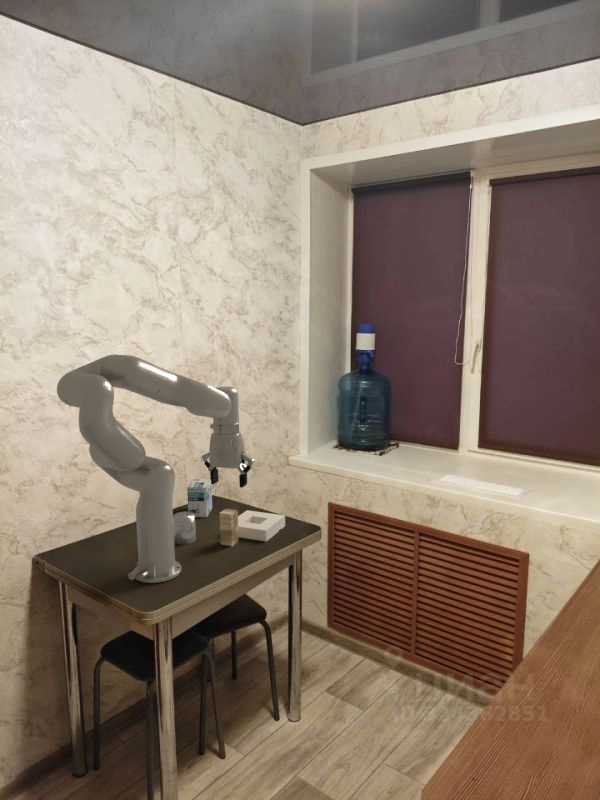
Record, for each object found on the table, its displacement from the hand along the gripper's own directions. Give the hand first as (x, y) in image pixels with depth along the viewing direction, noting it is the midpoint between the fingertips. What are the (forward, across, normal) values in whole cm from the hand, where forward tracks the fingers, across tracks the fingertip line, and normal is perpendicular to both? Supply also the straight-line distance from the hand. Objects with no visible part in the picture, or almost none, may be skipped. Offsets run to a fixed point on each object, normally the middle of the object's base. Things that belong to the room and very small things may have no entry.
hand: (228, 484), depth 174 cm
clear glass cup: (+18, -14, -4) cm, 23 cm away
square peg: (+18, 0, -1) cm, 18 cm away
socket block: (+18, +3, +11) cm, 22 cm away
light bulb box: (+19, -23, +19) cm, 36 cm away
